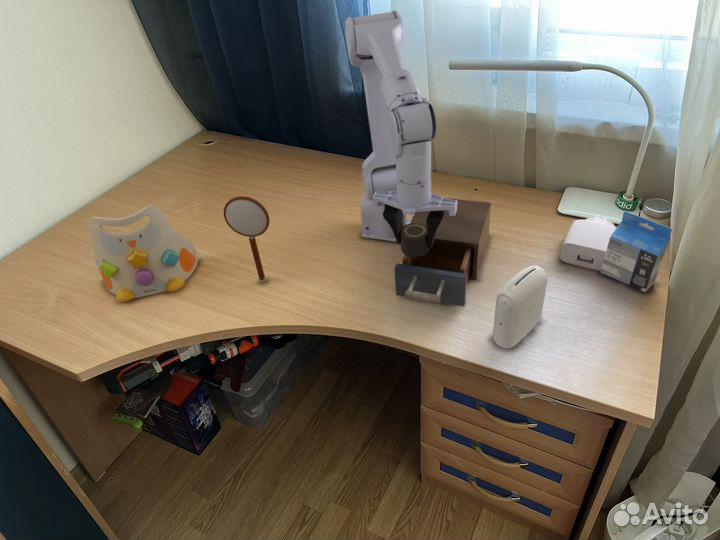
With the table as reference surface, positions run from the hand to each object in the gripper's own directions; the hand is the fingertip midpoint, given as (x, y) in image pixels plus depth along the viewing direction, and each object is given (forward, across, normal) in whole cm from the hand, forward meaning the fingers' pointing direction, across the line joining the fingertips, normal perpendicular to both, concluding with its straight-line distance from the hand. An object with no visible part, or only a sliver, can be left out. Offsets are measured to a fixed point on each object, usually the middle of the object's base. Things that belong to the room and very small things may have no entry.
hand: (415, 242), depth 98 cm
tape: (+1, 0, 0) cm, 1 cm away
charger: (+11, +31, +21) cm, 39 cm away
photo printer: (+11, +20, -7) cm, 24 cm away
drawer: (+10, +4, 0) cm, 10 cm away
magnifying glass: (+11, -30, -6) cm, 33 cm away
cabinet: (+10, +4, +12) cm, 16 cm away
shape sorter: (+11, -53, -13) cm, 56 cm away
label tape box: (+10, +38, +12) cm, 41 cm away
